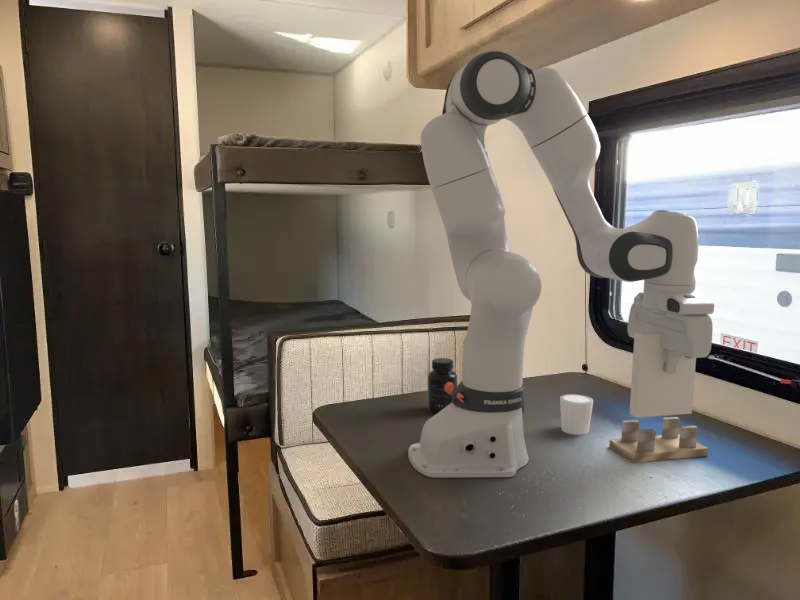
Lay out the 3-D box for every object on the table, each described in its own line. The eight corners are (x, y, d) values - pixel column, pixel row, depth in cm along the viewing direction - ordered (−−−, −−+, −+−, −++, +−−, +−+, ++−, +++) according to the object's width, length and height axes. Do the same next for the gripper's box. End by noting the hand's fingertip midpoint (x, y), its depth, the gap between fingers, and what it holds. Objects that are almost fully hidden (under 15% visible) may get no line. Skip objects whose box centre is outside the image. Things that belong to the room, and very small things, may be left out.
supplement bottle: (431, 405, 147) (431, 355, 146) (459, 407, 146) (460, 357, 144) (424, 413, 141) (425, 362, 139) (453, 416, 139) (454, 364, 137)
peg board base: (633, 462, 114) (634, 434, 113) (609, 446, 122) (610, 420, 121) (707, 455, 118) (710, 428, 117) (680, 440, 125) (682, 414, 125)
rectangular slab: (639, 419, 115) (644, 335, 113) (629, 413, 118) (634, 332, 116) (695, 415, 118) (701, 333, 116) (684, 409, 121) (690, 329, 119)
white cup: (568, 422, 136) (570, 391, 135) (597, 430, 131) (599, 398, 130) (552, 429, 131) (553, 398, 130) (581, 438, 126) (583, 405, 125)
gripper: (621, 291, 125) (617, 358, 127) (689, 306, 105) (683, 385, 107) (649, 290, 126) (645, 356, 128) (721, 305, 106) (715, 383, 108)
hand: (663, 370), depth 117 cm, fingers closed on rectangular slab, 2 cm apart
